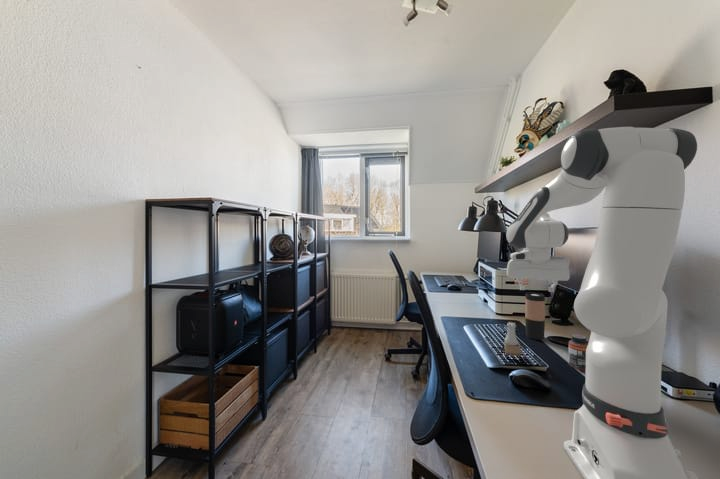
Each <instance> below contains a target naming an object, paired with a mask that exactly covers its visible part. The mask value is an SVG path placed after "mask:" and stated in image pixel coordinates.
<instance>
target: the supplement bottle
mask: <svg viewBox="0 0 720 479" xmlns="http://www.w3.org/2000/svg"><path fill="white" fill-rule="evenodd" d="M588 343H589V342H587V337H586V336H584V335H582V334H577V333H576V334H572V335H571V339H570V340H569V341H568V365H569V366H570V367H571V368H573V369H576V370H578V371H582V372H586V348H587V346H588Z"/></svg>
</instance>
